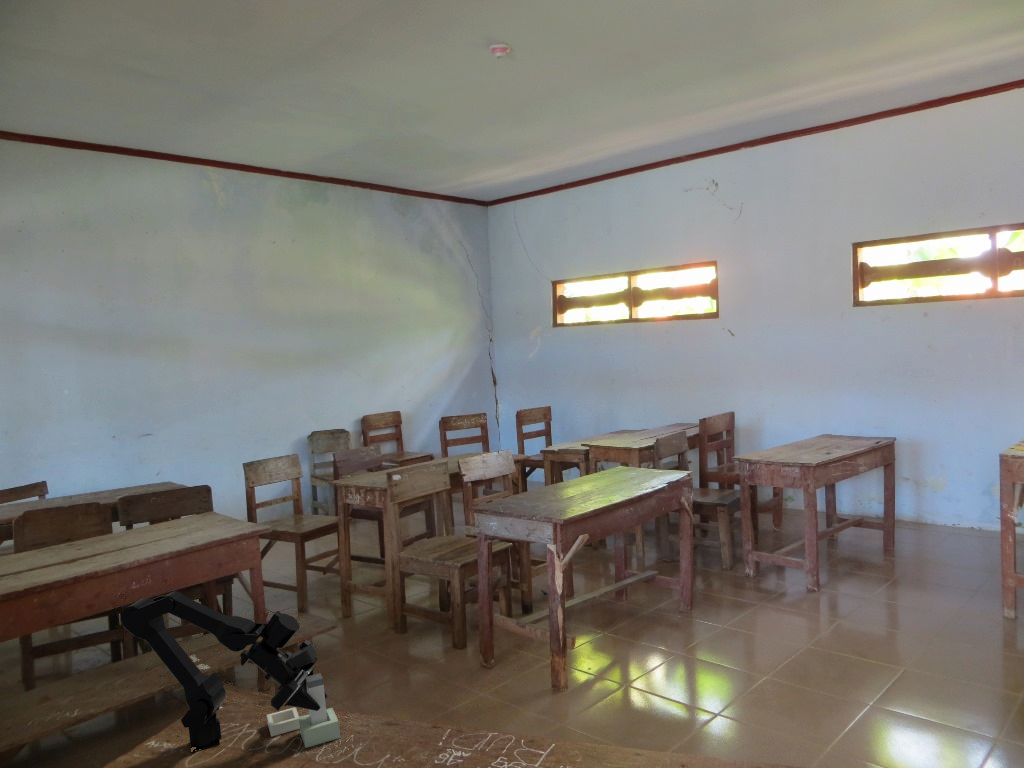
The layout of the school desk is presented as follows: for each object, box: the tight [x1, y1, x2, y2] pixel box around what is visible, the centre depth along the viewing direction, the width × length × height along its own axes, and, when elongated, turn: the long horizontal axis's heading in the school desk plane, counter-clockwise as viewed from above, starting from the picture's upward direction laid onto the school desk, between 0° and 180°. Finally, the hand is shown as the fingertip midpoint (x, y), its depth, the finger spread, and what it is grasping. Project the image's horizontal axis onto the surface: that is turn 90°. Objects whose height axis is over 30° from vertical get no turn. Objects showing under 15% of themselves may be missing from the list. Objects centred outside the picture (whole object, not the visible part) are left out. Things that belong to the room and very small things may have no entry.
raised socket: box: [299, 707, 341, 749], centre depth 176 cm, size 8×8×4 cm
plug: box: [306, 672, 327, 726], centre depth 175 cm, size 4×4×12 cm
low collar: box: [266, 706, 300, 738], centre depth 182 cm, size 7×7×2 cm
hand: (322, 703), depth 175 cm, fingers open, 5 cm apart
